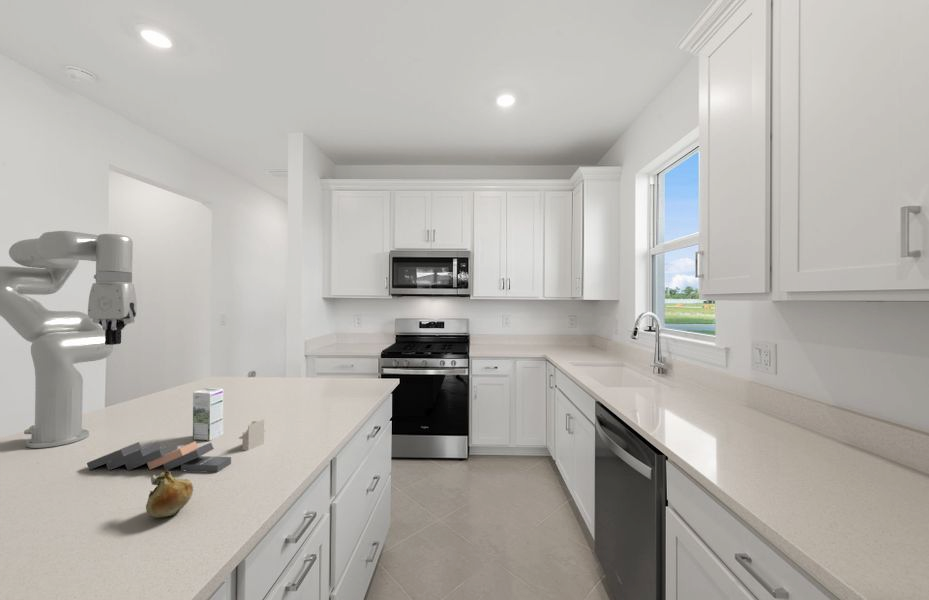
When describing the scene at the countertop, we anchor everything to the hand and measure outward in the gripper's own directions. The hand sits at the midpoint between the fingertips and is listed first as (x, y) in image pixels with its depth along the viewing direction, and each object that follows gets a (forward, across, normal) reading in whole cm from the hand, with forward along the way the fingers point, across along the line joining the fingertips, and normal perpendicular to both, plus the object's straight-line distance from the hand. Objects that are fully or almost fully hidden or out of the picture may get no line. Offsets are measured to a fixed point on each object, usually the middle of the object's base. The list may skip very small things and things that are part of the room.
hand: (113, 344), depth 106 cm
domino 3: (+28, +16, -11) cm, 35 cm away
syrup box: (+29, +21, +9) cm, 37 cm away
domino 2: (+28, +12, -11) cm, 33 cm away
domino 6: (+28, +30, -11) cm, 43 cm away
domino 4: (+28, +22, -11) cm, 37 cm away
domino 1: (+28, +7, -11) cm, 31 cm away
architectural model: (+30, +38, +2) cm, 49 cm away
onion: (+29, +41, -32) cm, 60 cm away
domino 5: (+28, +26, -11) cm, 40 cm away
